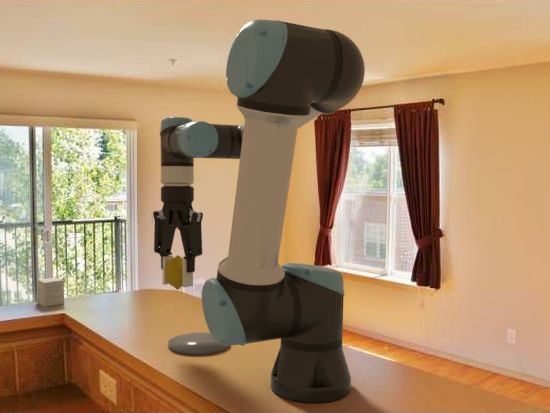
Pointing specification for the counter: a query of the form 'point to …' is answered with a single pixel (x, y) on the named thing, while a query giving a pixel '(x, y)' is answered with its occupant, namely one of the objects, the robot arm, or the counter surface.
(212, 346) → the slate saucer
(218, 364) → the counter surface
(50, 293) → the product box
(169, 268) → the lemon
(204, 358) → the counter surface
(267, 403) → the counter surface
